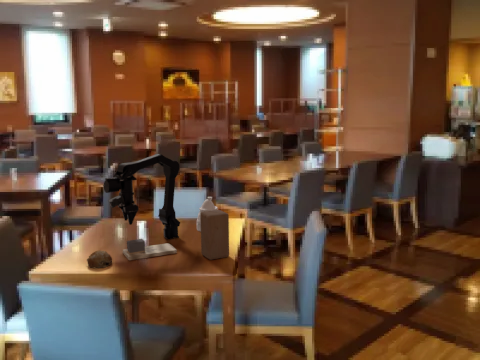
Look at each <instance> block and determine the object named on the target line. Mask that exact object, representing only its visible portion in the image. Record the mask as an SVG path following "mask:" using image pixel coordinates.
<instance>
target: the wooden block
mask: <svg viewBox="0 0 480 360" xmlns="http://www.w3.org/2000/svg"><path fill="white" fill-rule="evenodd" d="M200 217H201V232H200V243H201V245H200V248H201V249H200V251H201V252H200V253H201V255H202V256H203V257H205V258H206V259H208V260H211V261H212V260H217V259H222V258H228V257H230V222H229V219H230V218H229V213H228V212H225V211H223V210H221V209H217V210H212V211H204V212H201V213H200Z"/></svg>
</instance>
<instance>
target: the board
mask: <svg viewBox="0 0 480 360" xmlns="http://www.w3.org/2000/svg"><path fill="white" fill-rule="evenodd" d="M177 251H178V250H177V249H176V248H175V247H174V246H173V245H172V244H170V243H161V244H160V243H159V244H153V245H147V246H146V245H145V252H141V253H135V254H129V253H128V252H127V248H125V249H124V248H123V249H122V254H123V255H124V257H126V259H127V260H128V261H134V260H141V259H146V258H153V257H159V256H166V255H174V254H178V252H177Z"/></svg>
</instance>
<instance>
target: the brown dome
mask: <svg viewBox="0 0 480 360" xmlns="http://www.w3.org/2000/svg"><path fill="white" fill-rule="evenodd" d="M86 262H87V265H88V267H90V268H91V269H102V268H103V269H105V268H107V267H109V266H111V265H112V263H113V257H112V256H111V254H110V253H108V252H107V251H105V250H96V251H94V252H92V253H91V254H90V255H88V258H87V259H86Z"/></svg>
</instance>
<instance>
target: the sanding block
mask: <svg viewBox="0 0 480 360" xmlns="http://www.w3.org/2000/svg"><path fill="white" fill-rule="evenodd" d="M145 243H146V242H145V240H144V239H143V238H138V239H130V240H126V249H127V252H128V253H129V254H135V253H141V252H145V246H146V244H145Z"/></svg>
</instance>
